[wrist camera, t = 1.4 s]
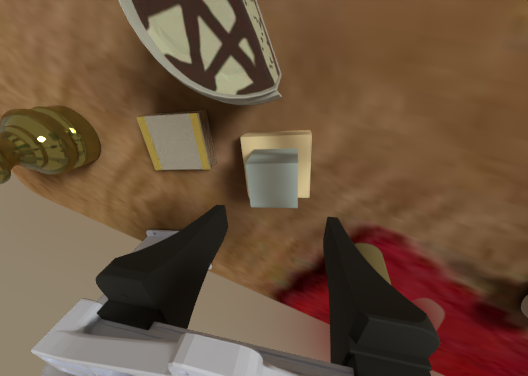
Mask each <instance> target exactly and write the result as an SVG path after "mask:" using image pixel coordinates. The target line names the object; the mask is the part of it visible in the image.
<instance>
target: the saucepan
mask: <svg viewBox="0 0 528 376" xmlns="http://www.w3.org/2000/svg"><path fill="white" fill-rule="evenodd" d="M521 310H522V312H523V314H524V315H525V316H526V317H527V318H528V295H527V296H526V297H525V298H524V300H523V301H522V304H521Z"/></svg>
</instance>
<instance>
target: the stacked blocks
mask: <svg viewBox="0 0 528 376" xmlns="http://www.w3.org/2000/svg"><path fill="white" fill-rule="evenodd" d="M240 139H241V147H242V154H243V162H244V169H245V177H246V184H247V192H248V197H250V204H251V207H270V208H298V197H305V198H309V192H310V167H311V142H312V133H311V131H310V130H301V131H279V132H256V133H245V134H244V135H242V136H241V137H240Z"/></svg>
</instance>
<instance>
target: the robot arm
mask: <svg viewBox="0 0 528 376" xmlns="http://www.w3.org/2000/svg"><path fill="white" fill-rule="evenodd" d="M227 229H228V222H227V216H226V209H225V206H224V205H216V206H215V207H213V208H212V209H211V210H209V211H208V212H207V213H205V214H204V215H203V216H201V217H200V218H198V219H197V220H196V221H194V222H193V223H191V224H190V225H188V226H187V227H185V228H184V229H182V230H180V231H170V230H147V231H146V234H147V237H146V238H145V239H144V240H143V242H142V243H141V244H140V245H139V246H138V247H137V248H136V249H135V250H134V251H133V252H132V253H130V254H127V255H124V256H121V257H118V258H115V259H114V260H113V261H112V262H111V263H110V264H109V265H108V266H107V267H106V268H105V269H104V270H103V271H102V272H101V273H100V274H99V275H98V276H97V277H96V284H97V285H98V287H99V288H100V289H101V291H102V292H103V293H104V294H103V296H102V297H101V298H100V299H99V300H98V301H93V300H89V299H85V298H83V299H81V300H80V301H79V302H78V303H77V304H76V305H75V306H74V307H73V308H72V309H71V310H70V311H69V312H68V313H67V314H66V315H65V316H64V317H63V318H62V319H61V320H60V321H59V322H58V323H57V324H56V325H55V326H54V328H52V329H51V330H50V331H49V332H48V333H47V334H46V335H45V337H43V338H42V340H40V342H39V343H38V344H37V345H36V346H35V347H34V348H33V349H32V350H31V352H32V353H33V354H35V355H37V356H38V357H40V358H41V359H43V360H45V361H46V365H45V367H44V368H43V369H42V372H41V376H431V374H430V372H429V371H431V370H432V367H431V365H430V362H429V360H428V357H429V356H430V355H431V354H433V353H434V352H435V351H436V350H437V348H438V347H439V345H440V339H439V337H438V335H437V332H436V330H435V328H434V326H433V325H432V323H431V321H430V319H429V318H428V316H427V314H426V313H424V312H423V311H422V310H421V309H420V308H418V307H417V306H416V305H414V304H413V303H412V302H410V301H409V300H408V299H407V298H405V297H404V296H403V295H402V294H401V293H399V292H398V291H397V290H396V289H395V288H394V287H392V286H391V285H390V284H389V283H388V282H387V281H386V280H385V279H384V278H383V277H382V276H381V275H380V274H379V273H378V272H377V271H376V270H375V269H374V268H373V267H372V266H371V265H370V264H369V262H368V261H367V260H366V259H365V258H364V257H363V255H362V254H361V253H360V251H359V250H358V249H357V247H356V246H355V245H354V243H353V242H352V240H351V239H350V237H349V236H348V234H347V233H346V231H345V230H344V228H343V226H342V224H341V223H340V221H339V219H338V218H334V217H328V218H327V223H326V228H325V233H324V238H323V249H324V259H325V267H326V274H327V281H328V289H329V307H330V341H331V363H329V362H324V361H320V360H316V359H312V358H308V357H303V356H299V355H295V354H290V353H286V352H282V351H278V350H274V349H269V348H265V347H260V346H257V345H252V344H248V343H243V342H240V341H235V340H231V339H227V338H222V337H218V336H214V335H210V334H206V333H201V332H197V331H193V330H189V329H187V328H188V325H189V321H190V318H191V315H192V312H193V309H194V306H195V303H196V300H197V297H198V295H199V292H200V289H201V286H202V284H203V281H204V279H205V276H206V273H207V271H208V269H211V268H212V264H211V263H212V261H213V259H214V257H215V255H216V253H217V251H218V249H219V248H220V246H221V244H222V242H223V240H224V237H225V235H226V232H227Z"/></svg>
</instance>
